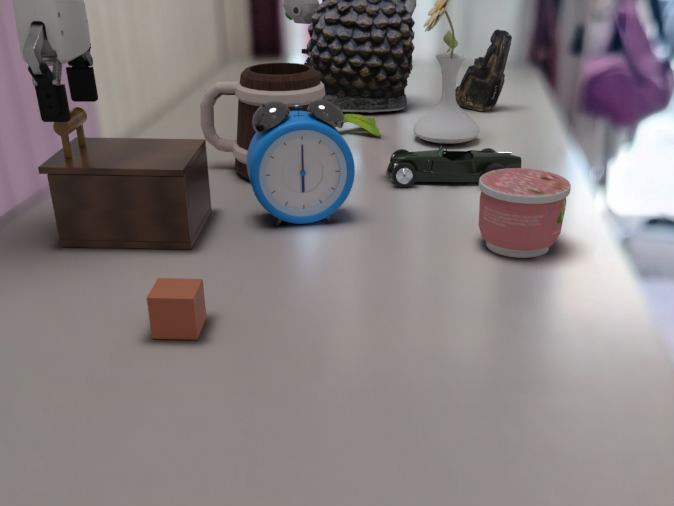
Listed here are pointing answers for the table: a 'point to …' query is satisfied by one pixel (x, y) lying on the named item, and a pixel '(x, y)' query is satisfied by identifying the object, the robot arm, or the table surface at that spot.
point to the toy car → (447, 165)
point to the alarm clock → (300, 161)
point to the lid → (118, 153)
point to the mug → (259, 101)
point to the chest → (132, 209)
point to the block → (176, 308)
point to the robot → (301, 15)
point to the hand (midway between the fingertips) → (71, 110)
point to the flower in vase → (446, 94)
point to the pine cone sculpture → (363, 52)
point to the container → (521, 210)
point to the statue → (485, 75)
